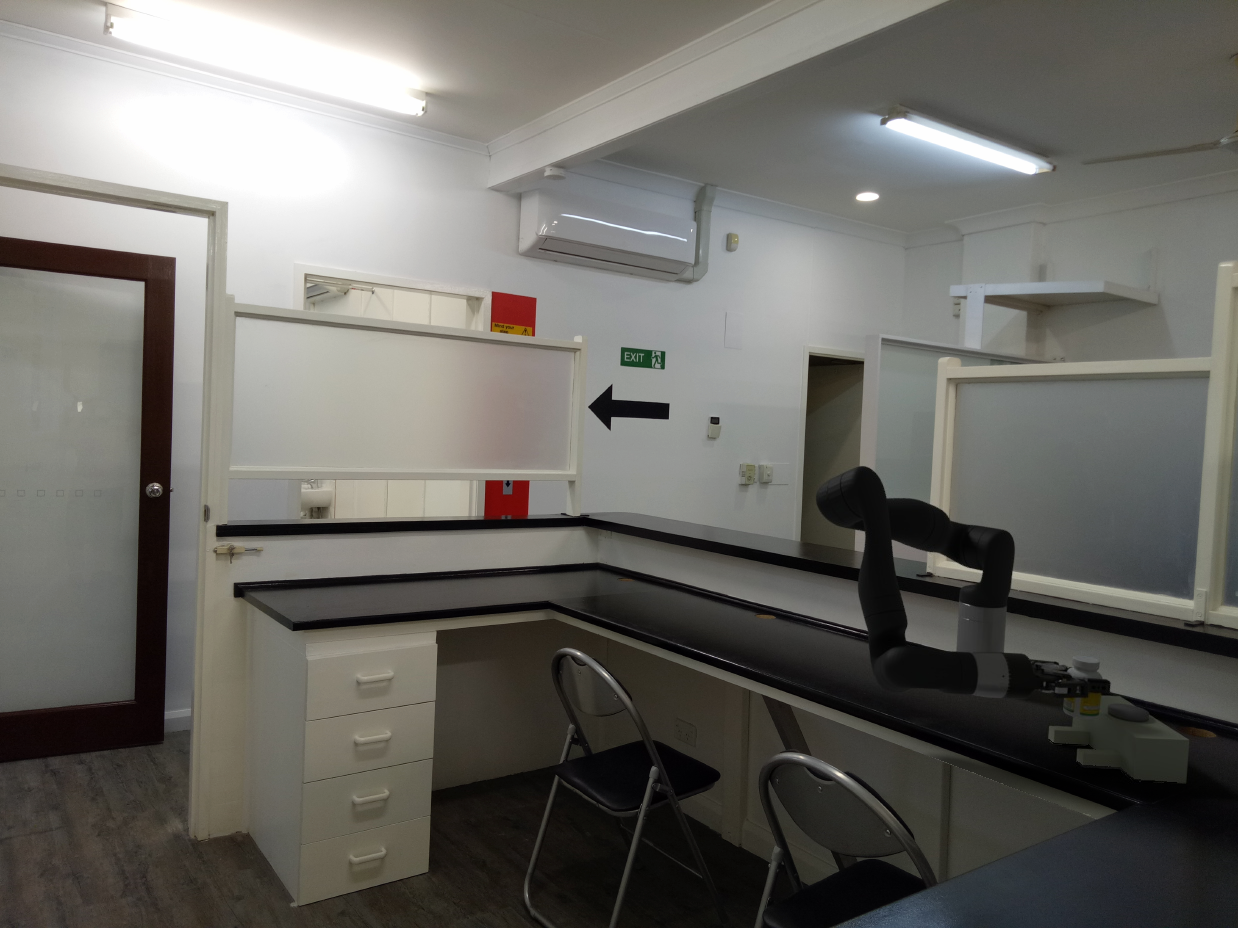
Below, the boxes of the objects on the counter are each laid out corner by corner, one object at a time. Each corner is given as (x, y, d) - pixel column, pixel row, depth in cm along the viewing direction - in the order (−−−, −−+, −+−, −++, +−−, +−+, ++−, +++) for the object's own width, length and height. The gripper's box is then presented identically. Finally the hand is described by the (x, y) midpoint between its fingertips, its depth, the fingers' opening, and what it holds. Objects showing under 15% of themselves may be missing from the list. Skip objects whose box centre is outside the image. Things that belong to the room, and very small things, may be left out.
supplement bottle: (1058, 713, 144) (1063, 657, 144) (1068, 706, 148) (1073, 652, 148) (1094, 723, 141) (1099, 665, 140) (1103, 715, 145) (1108, 659, 144)
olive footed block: (1038, 730, 155) (1040, 687, 155) (1116, 733, 155) (1120, 690, 154) (1095, 779, 135) (1098, 729, 135) (1185, 783, 135) (1189, 733, 134)
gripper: (1017, 665, 137) (1125, 671, 137) (982, 641, 152) (1080, 646, 151) (1013, 711, 138) (1121, 717, 137) (979, 682, 152) (1076, 688, 151)
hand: (1099, 680), depth 144 cm, fingers closed on supplement bottle, 5 cm apart
